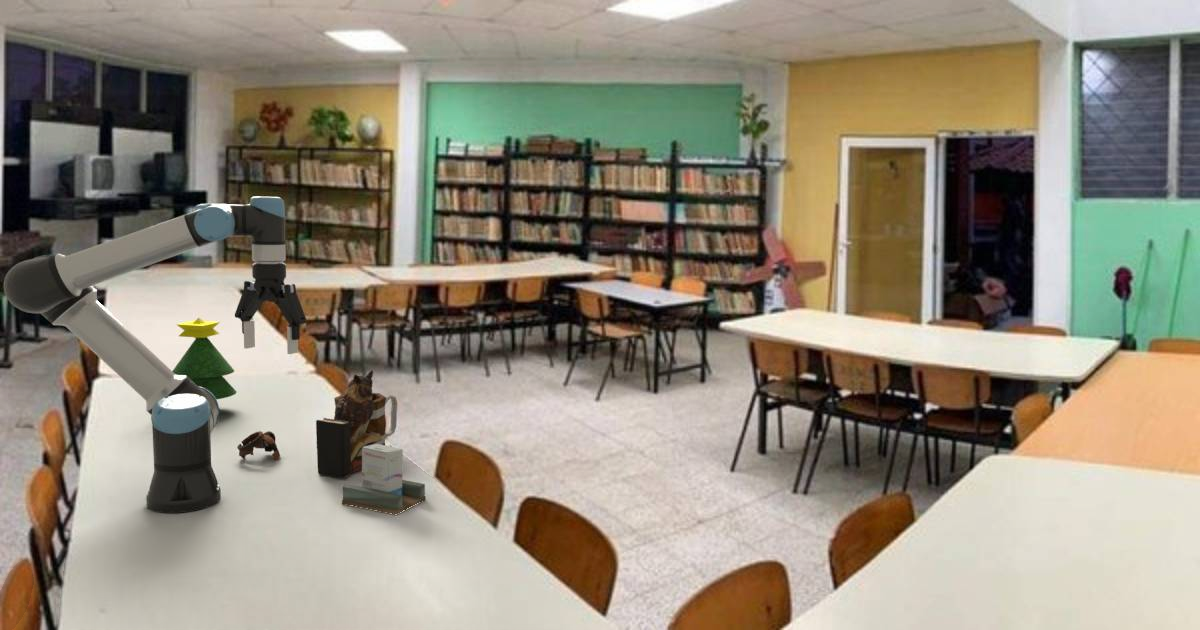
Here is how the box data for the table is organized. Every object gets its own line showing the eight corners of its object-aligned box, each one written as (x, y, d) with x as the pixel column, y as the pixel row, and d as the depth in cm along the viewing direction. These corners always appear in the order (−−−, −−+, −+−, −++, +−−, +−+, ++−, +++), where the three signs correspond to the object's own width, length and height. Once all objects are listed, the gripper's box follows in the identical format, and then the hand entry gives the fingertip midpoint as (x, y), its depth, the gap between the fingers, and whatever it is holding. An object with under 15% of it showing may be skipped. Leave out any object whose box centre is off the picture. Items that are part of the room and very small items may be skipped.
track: (396, 515, 196) (396, 497, 196) (341, 504, 202) (341, 487, 202) (425, 500, 206) (425, 483, 206) (372, 489, 212) (372, 473, 212)
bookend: (343, 481, 218) (342, 381, 214) (312, 473, 223) (311, 375, 220) (387, 467, 230) (386, 372, 227) (357, 459, 236) (356, 366, 232)
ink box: (403, 498, 204) (403, 448, 203) (388, 504, 200) (388, 453, 198) (376, 491, 209) (376, 441, 207) (360, 496, 204) (360, 446, 203)
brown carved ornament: (276, 466, 229) (257, 441, 227) (245, 479, 231) (227, 454, 228) (292, 442, 241) (274, 418, 238) (262, 455, 242) (245, 431, 239)
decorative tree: (213, 423, 267) (210, 323, 263) (155, 418, 270) (151, 320, 266) (249, 408, 286) (247, 315, 282) (195, 404, 289) (192, 312, 285)
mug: (357, 462, 234) (357, 406, 232) (324, 452, 241) (323, 398, 239) (413, 445, 250) (413, 393, 248) (379, 437, 257) (379, 386, 255)
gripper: (321, 264, 210) (322, 353, 213) (241, 258, 220) (243, 343, 223) (298, 266, 203) (300, 358, 206) (217, 260, 213) (220, 347, 216)
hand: (270, 350), depth 214 cm, fingers open, 13 cm apart
